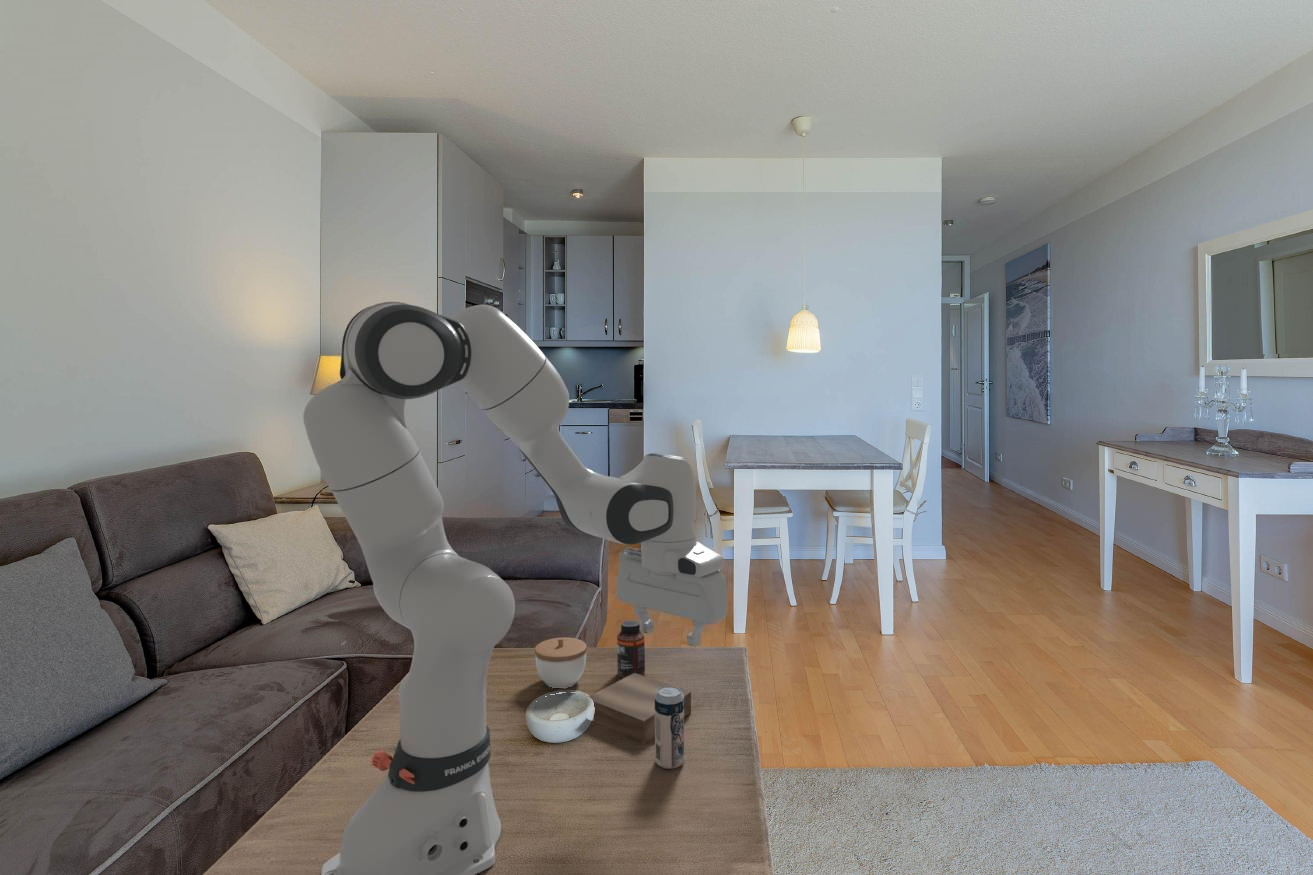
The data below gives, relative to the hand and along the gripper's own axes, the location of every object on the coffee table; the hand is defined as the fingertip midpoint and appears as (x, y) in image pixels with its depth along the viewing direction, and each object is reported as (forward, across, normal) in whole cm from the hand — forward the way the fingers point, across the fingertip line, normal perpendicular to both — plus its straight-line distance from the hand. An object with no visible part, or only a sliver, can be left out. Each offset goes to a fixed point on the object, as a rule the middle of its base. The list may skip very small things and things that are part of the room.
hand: (669, 638), depth 106 cm
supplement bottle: (+21, -27, +22) cm, 41 cm away
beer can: (+21, 0, 0) cm, 21 cm away
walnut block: (+21, -14, +8) cm, 27 cm away
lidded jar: (+21, -36, +10) cm, 43 cm away
